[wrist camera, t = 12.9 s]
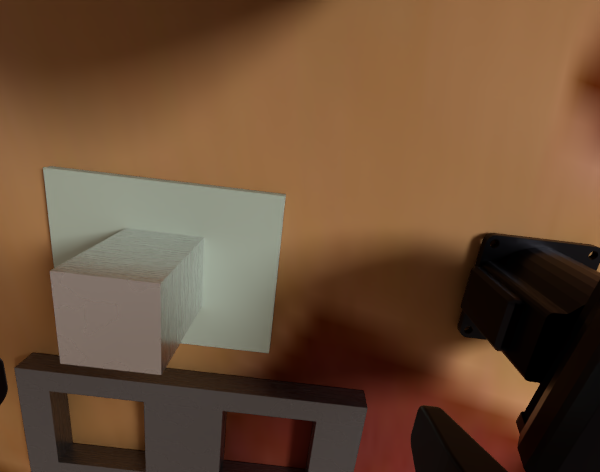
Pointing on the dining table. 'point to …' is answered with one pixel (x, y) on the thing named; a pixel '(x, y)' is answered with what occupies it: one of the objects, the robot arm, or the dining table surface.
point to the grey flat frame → (180, 418)
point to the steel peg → (128, 300)
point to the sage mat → (186, 221)
